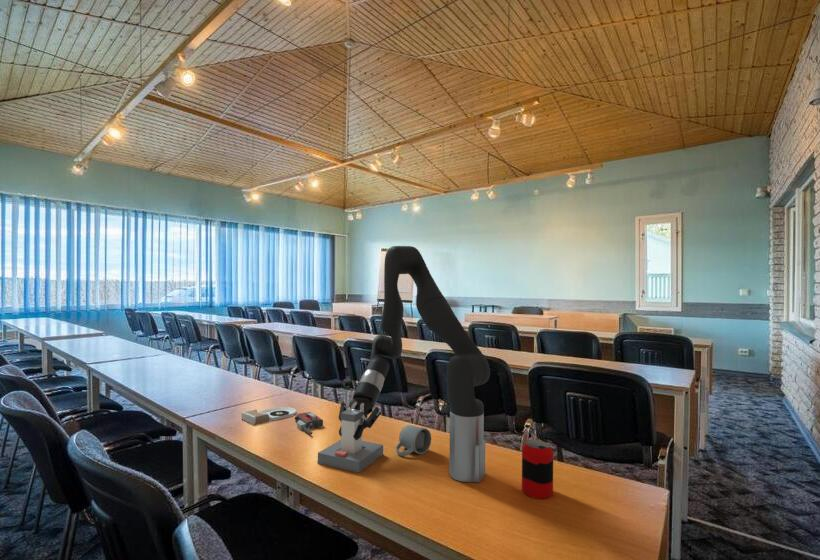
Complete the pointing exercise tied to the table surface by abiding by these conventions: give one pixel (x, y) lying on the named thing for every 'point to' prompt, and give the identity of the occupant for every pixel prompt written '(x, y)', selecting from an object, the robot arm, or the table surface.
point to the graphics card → (267, 414)
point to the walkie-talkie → (308, 421)
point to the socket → (350, 456)
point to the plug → (350, 431)
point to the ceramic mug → (414, 440)
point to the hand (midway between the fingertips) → (348, 437)
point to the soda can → (537, 469)
